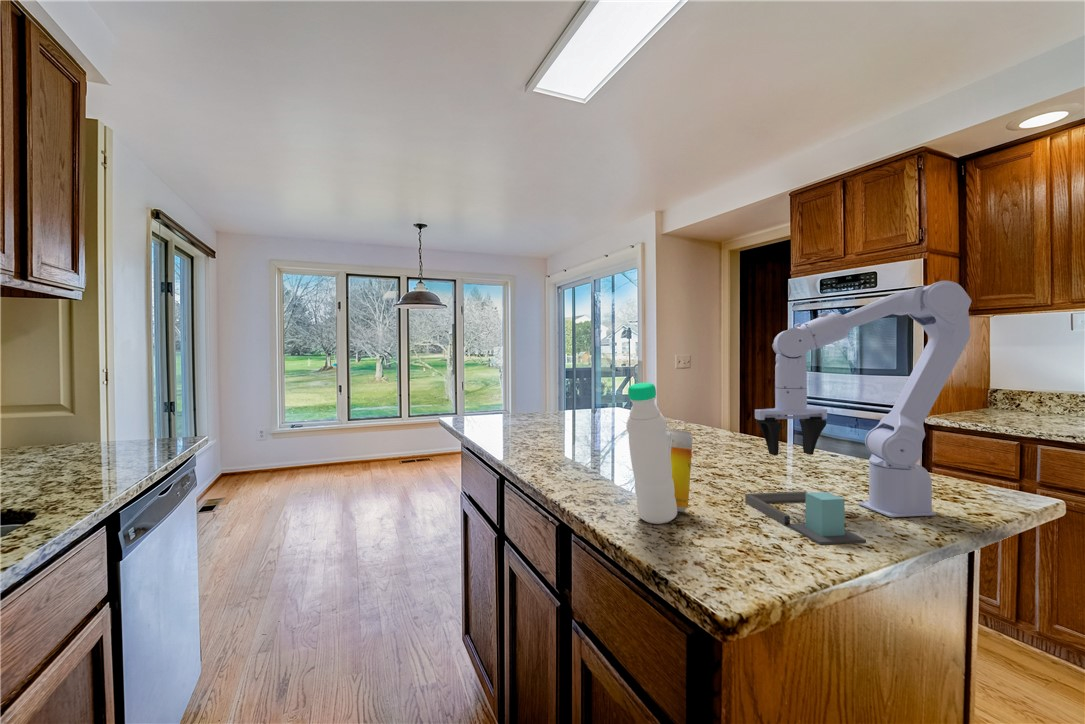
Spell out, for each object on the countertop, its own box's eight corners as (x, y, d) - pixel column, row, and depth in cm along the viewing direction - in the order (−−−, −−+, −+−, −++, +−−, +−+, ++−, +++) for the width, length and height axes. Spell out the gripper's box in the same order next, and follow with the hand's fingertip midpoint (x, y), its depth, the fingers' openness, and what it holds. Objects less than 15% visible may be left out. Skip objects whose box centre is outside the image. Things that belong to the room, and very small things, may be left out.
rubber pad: (830, 524, 82) (830, 522, 82) (866, 542, 74) (866, 539, 74) (787, 526, 81) (788, 524, 81) (819, 544, 73) (819, 542, 73)
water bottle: (657, 502, 90) (641, 378, 86) (686, 514, 84) (670, 381, 80) (630, 516, 86) (612, 387, 82) (658, 530, 80) (640, 392, 76)
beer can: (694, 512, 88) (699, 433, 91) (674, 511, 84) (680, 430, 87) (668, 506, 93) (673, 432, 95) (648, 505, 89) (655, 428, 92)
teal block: (827, 526, 80) (827, 491, 80) (844, 535, 76) (844, 498, 76) (805, 527, 79) (805, 492, 79) (821, 536, 76) (821, 499, 75)
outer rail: (805, 500, 96) (805, 491, 96) (855, 524, 83) (855, 513, 83) (744, 503, 95) (744, 493, 95) (784, 527, 81) (784, 516, 81)
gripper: (810, 386, 99) (810, 449, 99) (746, 387, 97) (746, 451, 98) (834, 388, 92) (834, 456, 92) (765, 389, 90) (766, 458, 91)
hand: (790, 454), depth 94 cm, fingers open, 7 cm apart
